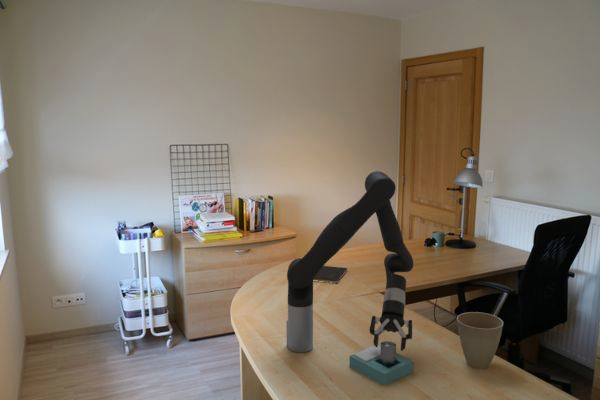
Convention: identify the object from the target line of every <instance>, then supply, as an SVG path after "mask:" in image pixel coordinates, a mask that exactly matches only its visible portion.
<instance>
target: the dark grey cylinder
mask: <svg viewBox="0 0 600 400" xmlns="http://www.w3.org/2000/svg"><path fill="white" fill-rule="evenodd" d="M380 345H381V354H380V364H381V365H383V366H385V367H387V368H390V367H393V366H395V364H396V353H397V344H396V343H395V342H393V341H390V340H388V341H387V340H386V341H382V342H381V343H380Z"/></svg>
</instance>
